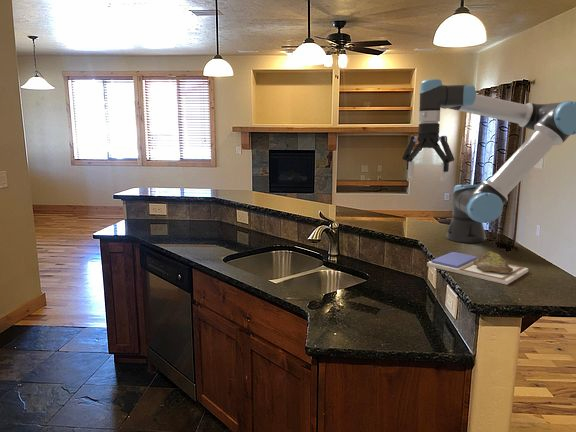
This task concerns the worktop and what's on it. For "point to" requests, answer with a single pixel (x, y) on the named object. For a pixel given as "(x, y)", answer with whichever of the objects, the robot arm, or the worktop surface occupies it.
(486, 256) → the rock
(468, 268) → the board
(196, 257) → the worktop surface
